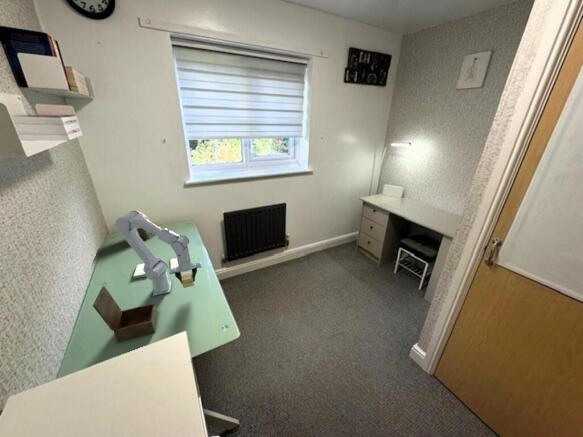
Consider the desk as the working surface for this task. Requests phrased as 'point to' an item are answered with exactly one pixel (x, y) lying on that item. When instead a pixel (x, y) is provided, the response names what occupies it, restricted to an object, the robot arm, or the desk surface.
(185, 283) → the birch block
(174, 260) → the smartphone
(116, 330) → the keepsake box
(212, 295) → the desk surface
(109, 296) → the box lid
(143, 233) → the owl
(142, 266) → the hard drive
